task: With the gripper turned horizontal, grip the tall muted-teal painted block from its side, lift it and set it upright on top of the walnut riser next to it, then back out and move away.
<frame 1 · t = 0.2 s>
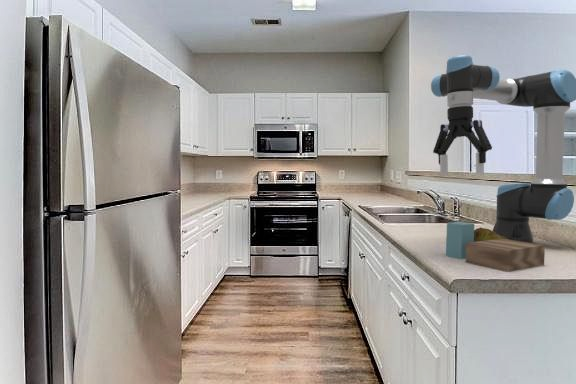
hand: (461, 174, 137), 27 cm above the countertop, tool pointing down, fingers open, 13 cm apart
walnut riser: (504, 263, 133), on the countertop
teal block: (459, 256, 144), on the countertop
potato: (490, 251, 153), on the countertop
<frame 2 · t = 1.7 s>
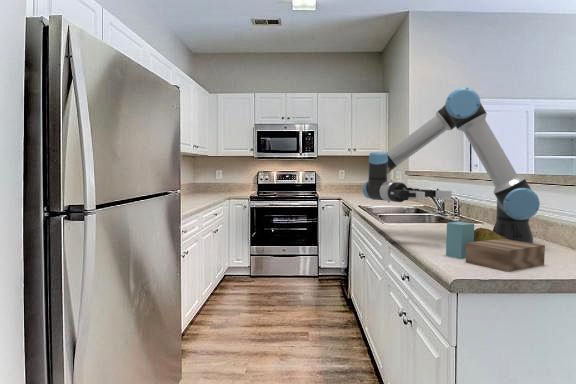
hand: (437, 195, 151), 20 cm above the countertop, tool horizontal, fingers open, 13 cm apart
nothing on the countertop moved.
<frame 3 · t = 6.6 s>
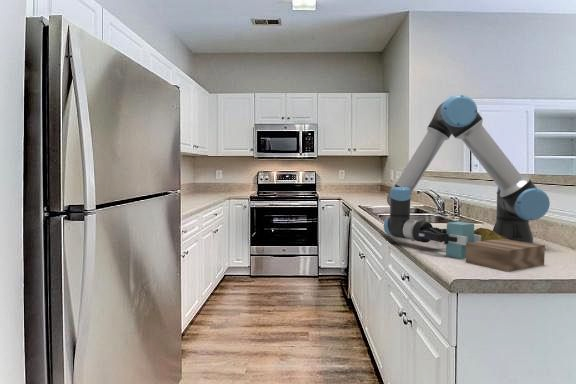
hand: (473, 240, 139), 6 cm above the countertop, tool horizontal, fingers closed on teal block, 6 cm apart
teal block: (459, 256, 144), on the countertop, touching gripper
everything else where it was.
when the fingers open (13 cm above the countertop, at t = 11.8 s): teal block drops 1 cm, resting on walnut riser.
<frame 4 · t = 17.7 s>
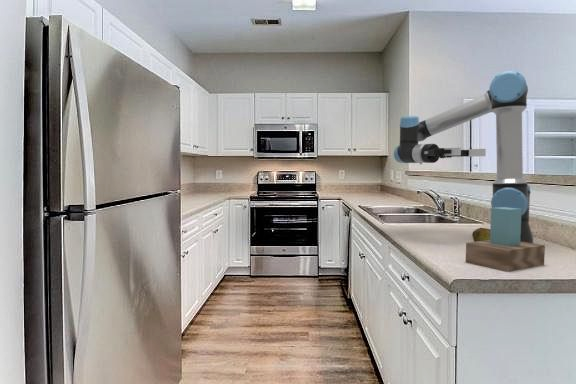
hand: (472, 152, 154), 35 cm above the countertop, tool horizontal, fingers open, 13 cm apart
teal block: (504, 244, 133), point 6 cm above the countertop, touching walnut riser
everything else where it was.
at the end: teal block inside the target area on the walnut riser (0.1 cm from its centre), point 6.0 cm above the walnut riser's base; teal block tilted 0°; the gripper is holding nothing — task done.
